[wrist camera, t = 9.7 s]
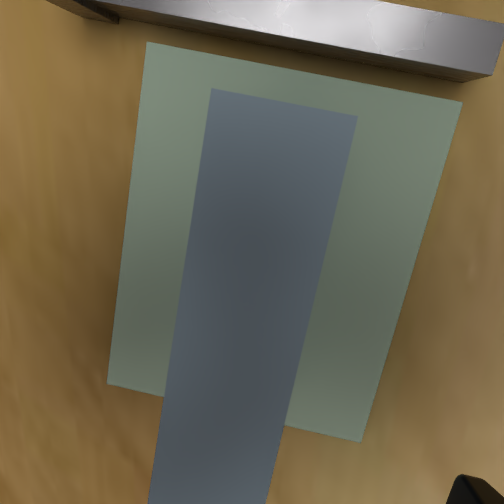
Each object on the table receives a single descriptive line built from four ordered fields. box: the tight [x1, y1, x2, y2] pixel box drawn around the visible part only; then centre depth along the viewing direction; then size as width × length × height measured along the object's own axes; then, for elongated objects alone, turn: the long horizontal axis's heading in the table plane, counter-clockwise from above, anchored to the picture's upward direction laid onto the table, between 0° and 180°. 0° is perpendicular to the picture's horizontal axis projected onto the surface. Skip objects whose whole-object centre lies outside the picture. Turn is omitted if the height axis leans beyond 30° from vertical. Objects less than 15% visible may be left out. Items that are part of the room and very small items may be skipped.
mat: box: [107, 42, 463, 443], centre depth 20 cm, size 12×15×1 cm
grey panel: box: [148, 88, 358, 504], centre depth 16 cm, size 3×12×9 cm, turn 169°
